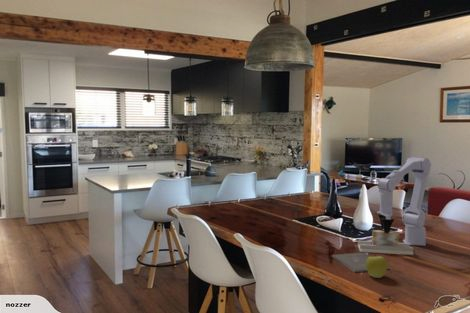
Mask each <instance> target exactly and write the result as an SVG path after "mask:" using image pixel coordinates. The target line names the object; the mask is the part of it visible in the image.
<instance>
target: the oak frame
mask: <svg viewBox="0 0 470 313" xmlns="http://www.w3.org/2000/svg"><path fill="white" fill-rule="evenodd" d="M371 232H372V234H371V241H372V245H384V246H399V243H400V234H401V233H400V232H399V230H398V231H396V230H390V232H389V233H384V230H379V229H378V230H375V229H372V230H371Z"/></svg>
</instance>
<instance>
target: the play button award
mask: <svg viewBox="0 0 470 313" xmlns="http://www.w3.org/2000/svg"><path fill="white" fill-rule="evenodd" d="M369 257H372V256H370V255H369V254H368V253H367V252H355V253H353V252H351V253H340V254H331V258H332V259H334V260H336V261H337V262H338V263H340V264H341V265H343V266H345V267H346V268H347V269H349V270H350V271H352V272H353V273H365V272H368V271H367V267H366V261H367V259H368V258H369ZM387 270H390V266H389V265H387Z"/></svg>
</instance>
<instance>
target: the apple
mask: <svg viewBox="0 0 470 313" xmlns="http://www.w3.org/2000/svg"><path fill="white" fill-rule="evenodd" d="M387 266H388V263H387V261H386V259H385V257H383V256H382V255H381V256H379V255H378V256H371V257H369V258H368V259H367V261H366V267H367V271H366V272H367V273H368V275H369V276H371V277H372V278H374V279H381V278H383V277H384V276H385V275H386V273H387V271H388V269H387Z"/></svg>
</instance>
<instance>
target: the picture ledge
mask: <svg viewBox="0 0 470 313" xmlns="http://www.w3.org/2000/svg"><path fill="white" fill-rule="evenodd" d="M357 247H358V250H359V253H362V252H364V253H374V254H389V255H391V254H393V255H405V256H406V255H407V256H408V255H409V256H414V247H413V246H411V245H410V243H404V242H399V246H384V245H372V240H371V241H370V240H358V242H357Z"/></svg>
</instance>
